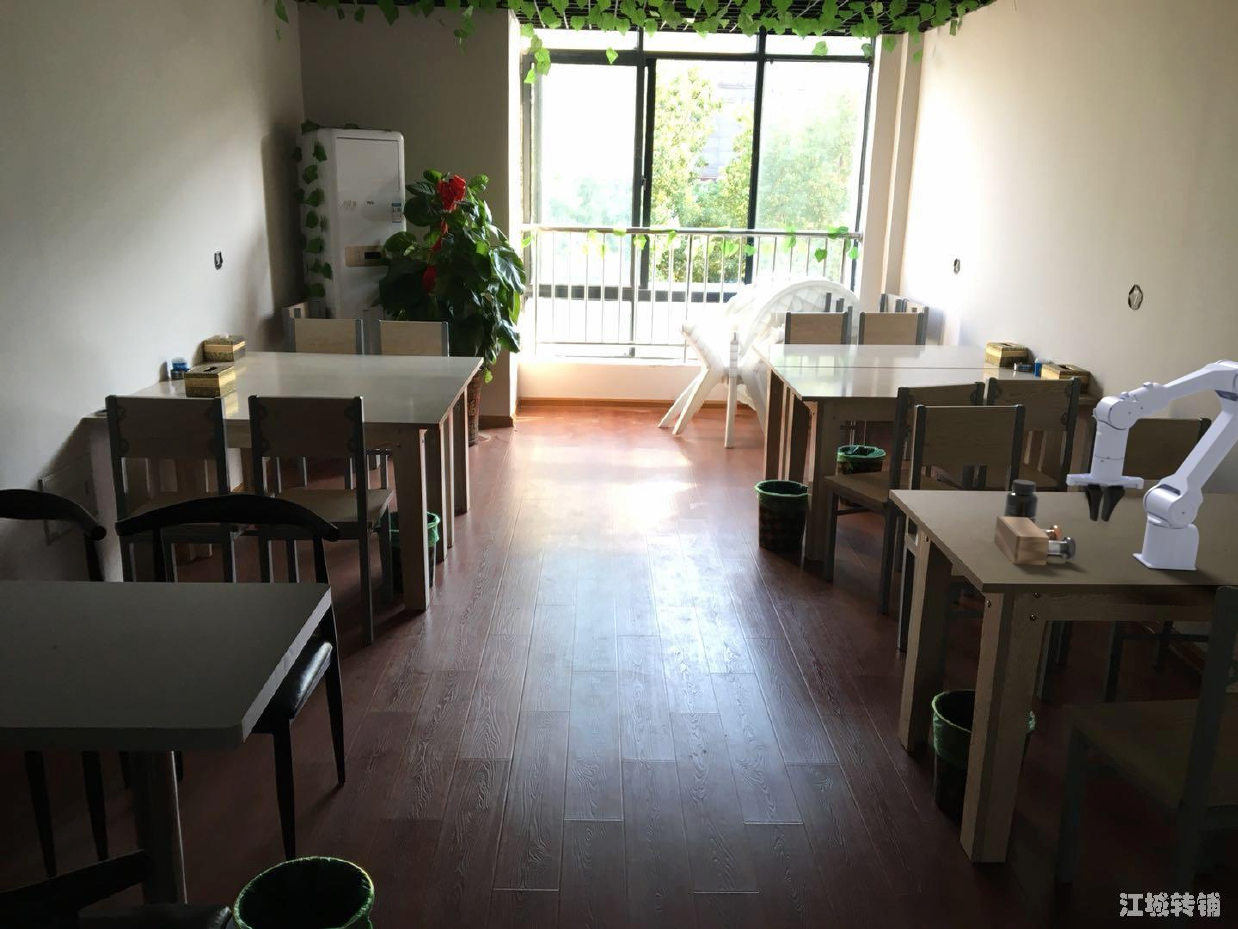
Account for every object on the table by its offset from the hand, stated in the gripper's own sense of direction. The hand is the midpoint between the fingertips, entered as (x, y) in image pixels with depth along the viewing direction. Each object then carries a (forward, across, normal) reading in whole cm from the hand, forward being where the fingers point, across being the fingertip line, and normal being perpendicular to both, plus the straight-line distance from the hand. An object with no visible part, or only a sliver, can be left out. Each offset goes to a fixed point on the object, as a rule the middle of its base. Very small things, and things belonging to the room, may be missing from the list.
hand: (1099, 520), depth 204 cm
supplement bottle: (+10, -10, +19) cm, 23 cm away
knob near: (+9, -8, 0) cm, 12 cm away
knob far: (+9, -8, +8) cm, 14 cm away
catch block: (+9, -14, +4) cm, 17 cm away
